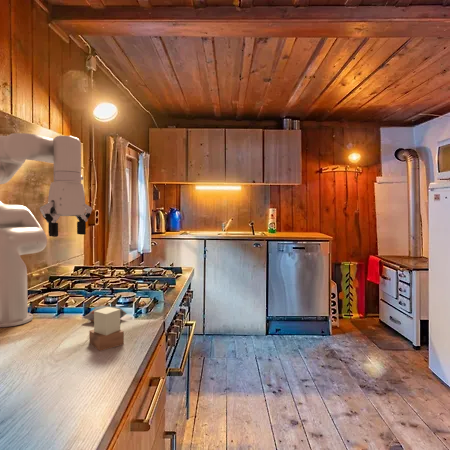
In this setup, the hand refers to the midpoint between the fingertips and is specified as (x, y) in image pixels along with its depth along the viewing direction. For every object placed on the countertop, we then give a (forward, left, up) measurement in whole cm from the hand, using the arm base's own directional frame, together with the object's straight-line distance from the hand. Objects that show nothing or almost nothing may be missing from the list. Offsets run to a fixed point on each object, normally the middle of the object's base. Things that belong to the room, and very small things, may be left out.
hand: (68, 235), depth 104 cm
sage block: (+16, 0, -27) cm, 31 cm away
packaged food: (+1, +14, -31) cm, 34 cm away
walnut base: (+16, 0, -31) cm, 34 cm away
